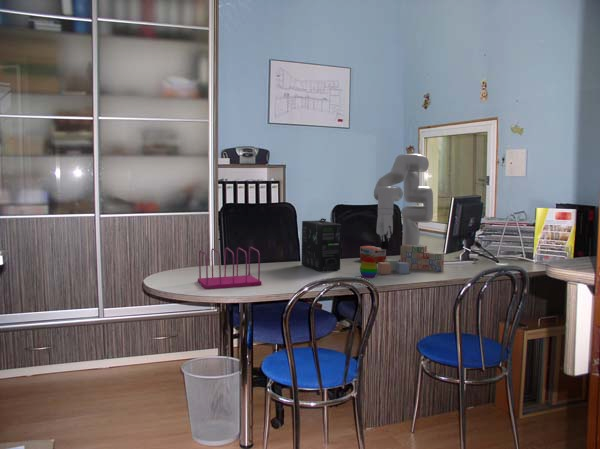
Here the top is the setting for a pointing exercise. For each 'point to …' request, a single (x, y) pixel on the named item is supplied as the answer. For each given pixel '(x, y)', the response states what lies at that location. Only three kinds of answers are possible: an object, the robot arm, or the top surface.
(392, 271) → the charcoal mat
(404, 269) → the slate-blue cube
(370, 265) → the decorative egg
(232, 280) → the file sorter
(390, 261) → the sage cube
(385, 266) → the terracotta cube
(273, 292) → the top surface
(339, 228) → the headset box
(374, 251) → the medicine box
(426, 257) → the stack of blocks
